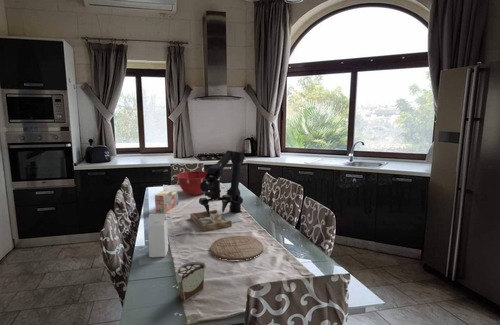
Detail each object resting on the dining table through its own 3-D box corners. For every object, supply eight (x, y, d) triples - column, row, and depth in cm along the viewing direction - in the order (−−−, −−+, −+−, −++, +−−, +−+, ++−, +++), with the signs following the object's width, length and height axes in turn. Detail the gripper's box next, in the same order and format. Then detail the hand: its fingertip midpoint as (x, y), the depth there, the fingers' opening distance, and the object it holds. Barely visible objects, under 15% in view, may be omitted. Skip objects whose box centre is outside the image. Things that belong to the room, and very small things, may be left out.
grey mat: (232, 213, 199) (232, 213, 199) (243, 220, 186) (243, 220, 186) (219, 216, 195) (219, 215, 195) (229, 223, 182) (229, 222, 182)
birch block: (218, 219, 189) (218, 213, 189) (221, 221, 185) (221, 215, 184) (210, 220, 187) (210, 214, 187) (213, 223, 183) (213, 216, 182)
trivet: (270, 257, 140) (270, 253, 139) (215, 265, 133) (215, 261, 132) (254, 236, 163) (254, 233, 163) (206, 242, 156) (206, 238, 156)
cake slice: (194, 282, 119) (193, 258, 117) (206, 287, 115) (205, 262, 114) (169, 298, 109) (167, 271, 107) (181, 304, 105) (180, 276, 104)
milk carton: (152, 250, 146) (150, 211, 143) (168, 250, 147) (166, 211, 144) (149, 257, 139) (147, 217, 136) (165, 257, 140) (163, 216, 137)
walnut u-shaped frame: (216, 214, 199) (216, 209, 198) (231, 226, 178) (231, 221, 177) (190, 218, 191) (190, 213, 191) (203, 231, 170) (203, 226, 170)
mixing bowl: (210, 197, 237) (209, 178, 235) (172, 197, 238) (172, 178, 235) (214, 188, 265) (214, 171, 263) (181, 188, 266) (180, 171, 263)
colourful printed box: (170, 203, 222) (169, 187, 221) (178, 204, 221) (177, 187, 219) (155, 213, 202) (154, 194, 200) (164, 213, 201) (163, 195, 199)
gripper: (224, 183, 194) (224, 207, 197) (195, 187, 186) (196, 212, 188) (231, 187, 184) (232, 212, 187) (201, 191, 176) (202, 217, 179)
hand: (215, 213), depth 185 cm, fingers open, 9 cm apart
